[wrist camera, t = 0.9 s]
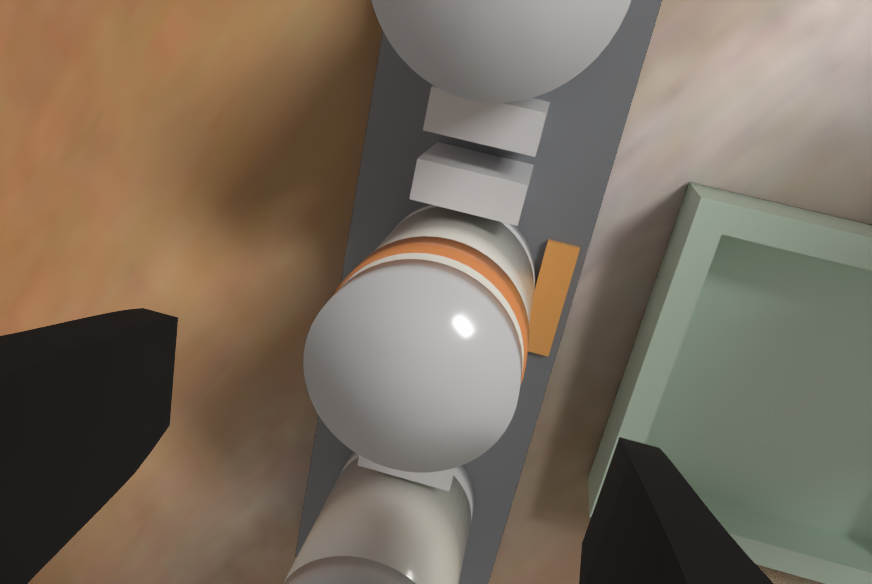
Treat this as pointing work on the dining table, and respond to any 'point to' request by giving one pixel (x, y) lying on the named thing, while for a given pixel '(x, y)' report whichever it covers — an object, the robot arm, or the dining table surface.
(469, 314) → the cylinder
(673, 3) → the dining table surface
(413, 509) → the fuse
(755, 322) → the tray
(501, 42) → the fuse
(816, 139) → the dining table surface
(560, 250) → the fuse holder
